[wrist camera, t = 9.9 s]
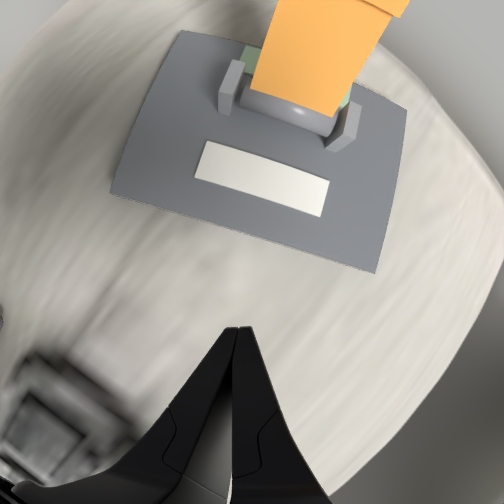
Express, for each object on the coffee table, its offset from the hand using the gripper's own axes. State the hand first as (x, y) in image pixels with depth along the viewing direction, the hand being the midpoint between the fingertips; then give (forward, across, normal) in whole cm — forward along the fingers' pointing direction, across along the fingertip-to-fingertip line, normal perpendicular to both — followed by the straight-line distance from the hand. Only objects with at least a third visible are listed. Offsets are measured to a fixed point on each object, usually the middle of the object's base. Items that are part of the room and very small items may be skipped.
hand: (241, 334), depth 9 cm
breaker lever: (+12, -3, -5) cm, 13 cm away
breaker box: (+14, -1, -3) cm, 14 cm away
